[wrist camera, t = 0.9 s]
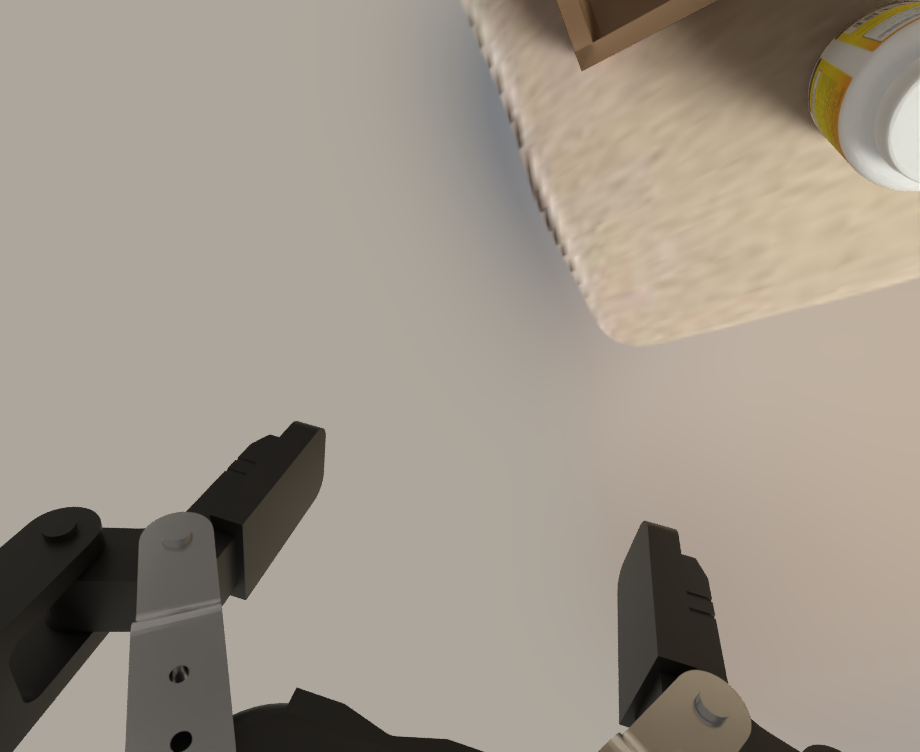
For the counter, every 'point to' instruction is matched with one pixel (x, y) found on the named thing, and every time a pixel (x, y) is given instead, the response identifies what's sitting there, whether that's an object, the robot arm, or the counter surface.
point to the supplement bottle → (873, 95)
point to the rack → (618, 23)
